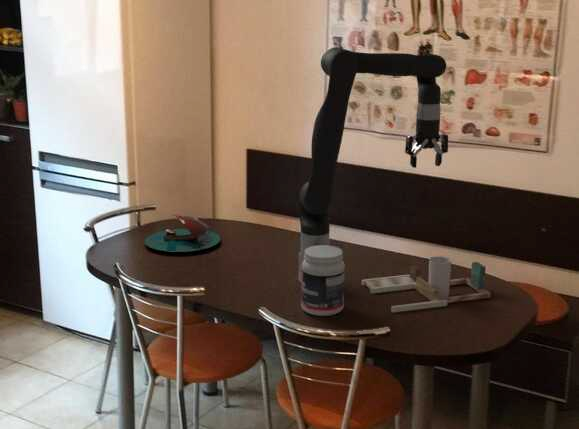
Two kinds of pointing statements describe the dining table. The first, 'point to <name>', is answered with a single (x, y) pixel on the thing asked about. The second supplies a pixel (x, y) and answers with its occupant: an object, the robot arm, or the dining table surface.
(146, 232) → the dining table surface
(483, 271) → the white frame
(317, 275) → the supplement tub
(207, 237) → the boat on round base
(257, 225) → the dining table surface
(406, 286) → the lane rails
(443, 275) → the mug
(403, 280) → the plain strip
